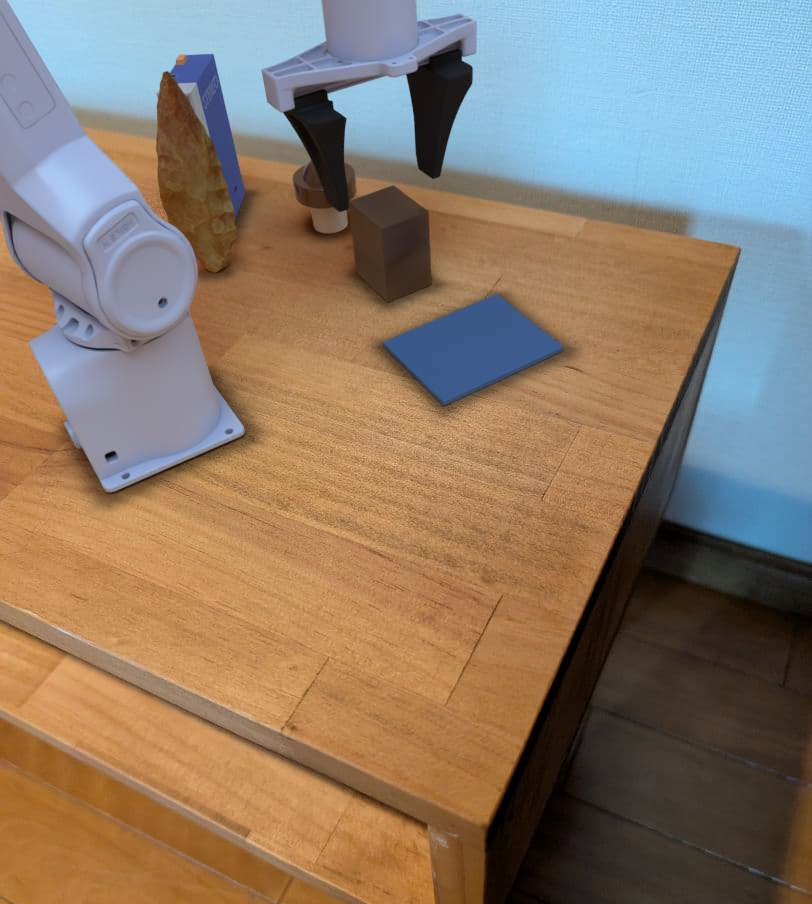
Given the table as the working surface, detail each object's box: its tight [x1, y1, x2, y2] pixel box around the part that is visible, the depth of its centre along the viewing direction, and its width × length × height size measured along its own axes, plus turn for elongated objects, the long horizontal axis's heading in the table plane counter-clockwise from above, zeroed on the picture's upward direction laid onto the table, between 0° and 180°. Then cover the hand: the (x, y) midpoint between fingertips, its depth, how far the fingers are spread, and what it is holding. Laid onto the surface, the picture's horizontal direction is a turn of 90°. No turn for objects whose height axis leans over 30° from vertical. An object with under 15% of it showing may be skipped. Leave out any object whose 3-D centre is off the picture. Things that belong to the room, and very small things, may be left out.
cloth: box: [382, 293, 565, 407], centre depth 55 cm, size 10×8×1 cm
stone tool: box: [155, 70, 237, 274], centre depth 58 cm, size 5×2×15 cm, turn 121°
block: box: [348, 184, 432, 303], centre depth 59 cm, size 4×5×6 cm
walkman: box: [156, 53, 246, 221], centre depth 65 cm, size 8×3×12 cm, turn 176°
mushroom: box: [291, 159, 358, 235], centre depth 65 cm, size 5×5×6 cm
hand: (384, 188), depth 56 cm, fingers open, 7 cm apart
